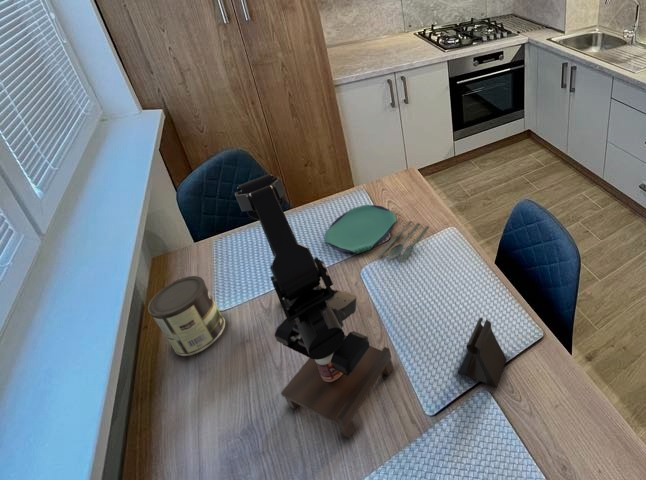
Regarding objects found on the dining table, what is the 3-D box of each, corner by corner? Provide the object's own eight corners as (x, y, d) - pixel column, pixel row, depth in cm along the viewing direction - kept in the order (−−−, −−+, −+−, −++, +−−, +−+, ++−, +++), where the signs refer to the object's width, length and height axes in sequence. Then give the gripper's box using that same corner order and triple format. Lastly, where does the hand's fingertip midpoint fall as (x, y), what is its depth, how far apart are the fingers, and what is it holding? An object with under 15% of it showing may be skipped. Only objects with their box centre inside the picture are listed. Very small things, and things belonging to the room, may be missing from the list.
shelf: (287, 407, 82) (277, 387, 79) (337, 343, 94) (330, 323, 91) (349, 440, 77) (341, 420, 73) (394, 368, 88) (389, 348, 85)
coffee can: (209, 309, 103) (187, 269, 97) (234, 324, 99) (214, 284, 93) (163, 345, 95) (137, 305, 88) (190, 364, 91) (164, 323, 84)
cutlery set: (359, 203, 138) (358, 198, 137) (434, 226, 127) (433, 220, 126) (313, 245, 121) (311, 239, 120) (395, 275, 110) (393, 269, 109)
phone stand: (506, 360, 89) (504, 324, 84) (496, 388, 84) (493, 352, 79) (469, 347, 92) (465, 312, 87) (457, 373, 87) (452, 337, 82)
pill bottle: (337, 384, 81) (327, 359, 77) (316, 380, 82) (306, 354, 78) (350, 360, 85) (342, 335, 81) (330, 356, 86) (321, 331, 82)
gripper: (380, 293, 79) (393, 343, 86) (308, 267, 85) (326, 315, 92) (339, 346, 70) (357, 398, 77) (262, 312, 76) (285, 363, 83)
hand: (331, 364), depth 82 cm, fingers open, 9 cm apart
